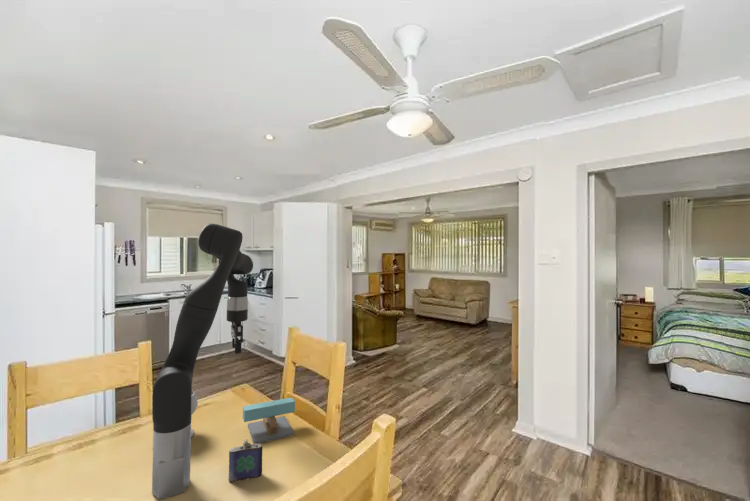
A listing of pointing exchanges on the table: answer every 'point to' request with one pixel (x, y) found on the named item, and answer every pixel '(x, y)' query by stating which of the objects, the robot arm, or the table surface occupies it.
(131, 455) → the table surface
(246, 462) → the flask
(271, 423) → the fulcrum
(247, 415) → the batten
